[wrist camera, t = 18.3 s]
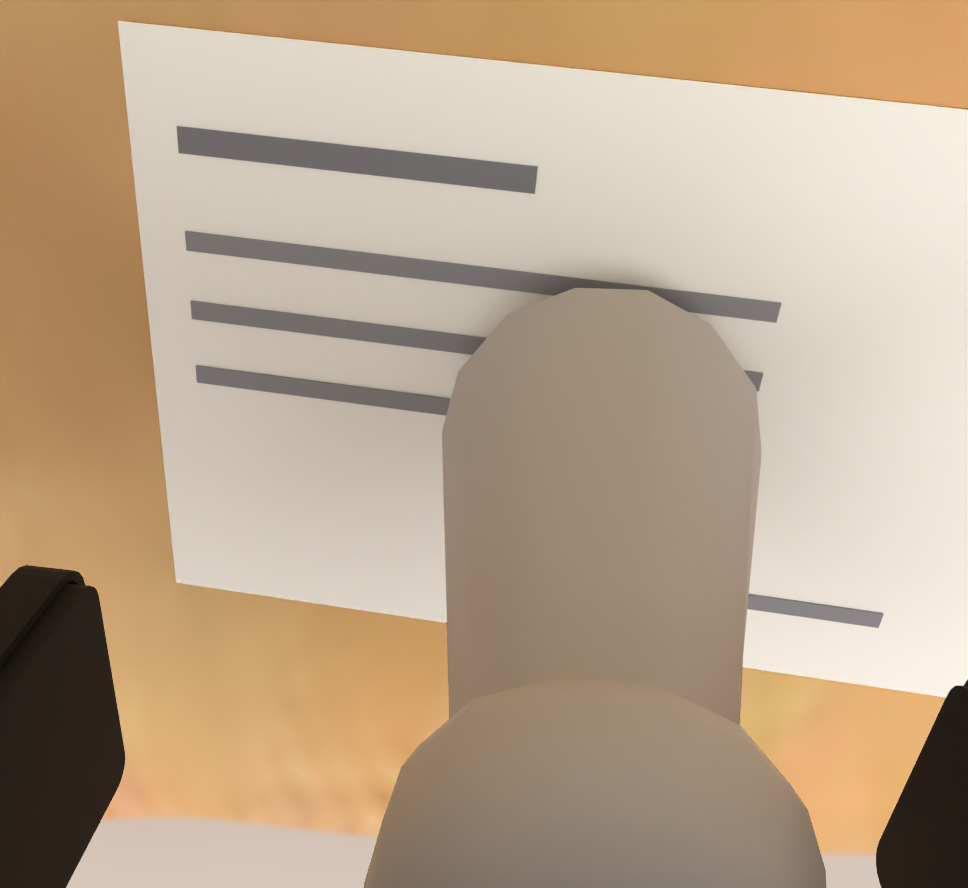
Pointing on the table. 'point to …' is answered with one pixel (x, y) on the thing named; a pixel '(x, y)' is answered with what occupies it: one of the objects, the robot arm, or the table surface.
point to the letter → (532, 278)
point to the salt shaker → (597, 619)
